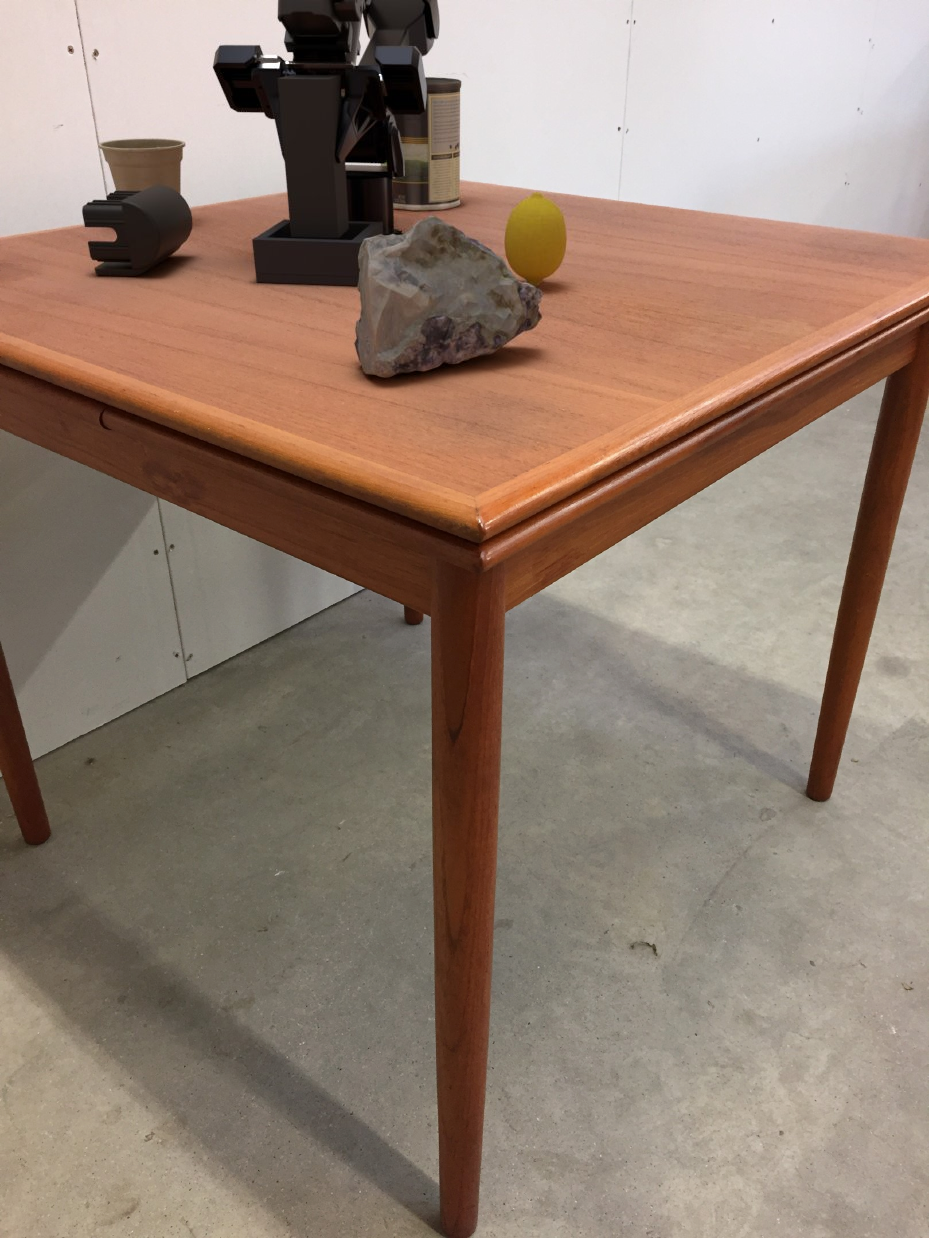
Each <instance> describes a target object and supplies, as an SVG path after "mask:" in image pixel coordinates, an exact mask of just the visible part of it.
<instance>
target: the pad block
mask: <svg viewBox="0 0 929 1238" xmlns="http://www.w3.org/2000/svg"><path fill="white" fill-rule="evenodd" d="M278 89H279V101H280V113H281V125H282V136H283V148H284V159H283V161H284V160H285V161H284V170H285V181H286V193H287V204H288V216H289V217H288V220H290V230H291V237H300V238H336V239H338V238H339V237H341V236H342V235H343V234H344V233H345V232H346V231H347V230H348V229H349V220H348V202H347V184H346V167H345V165H346V163H345V158H344V160H343V161H342V162H341V163H337V162H336V158H335V147H336V135H337V130H338V126H339V121H340V116H341V111H342V95H341V77H340V75H289V76H285V77H281V78H278Z"/></svg>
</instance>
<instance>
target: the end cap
mask: <svg viewBox="0 0 929 1238" xmlns="http://www.w3.org/2000/svg"><path fill="white" fill-rule="evenodd" d="M105 198H106V199H93V200H92V201H87V202H86V204H84V205H82V209H81V213H82V219H83V225H84V228H107V229H108V228H110V229H112V230H113V231H114V232H115V234H116V238H115V240H111V241H109V240H103V241H102V240H88V241H87V245H88V252H89V257H90V259H91V260H92V261H97V262H98V263H100V264H98V265H97V266H95V267H94V273H95V275H96V276H100V277H101V276H103V277H137V276H141V275H143V274H145V273H146V272H148V271H150V270H151V269H152V268H154V267H155V266H157V265H158V264H160V263H162V262H163V261H164V260H166V259H168V258H169V257H171V256H172V255H174V254H175V253H176V252H177V251H178V250H179V249H180V248H181V247H182V245H183V244H184V243H186V241H187V240H188V239H189V237H190V236H191V233H192V230H193V224H194V223H193V215H192V210H191V208H190V205H189V204H188V202H187V200H186V199H185V198H184V196H183V195H182V193H181V194H180V193H178V192H177V191H176V190H174V189H172V188H171V187H168V186H165V185H160V184H157V185H155V186H152V187H150V188H148V189H146V190H143V191H116V190H114V191H113V192H109V194H107V195H105Z"/></svg>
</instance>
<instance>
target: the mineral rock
mask: <svg viewBox="0 0 929 1238" xmlns="http://www.w3.org/2000/svg"><path fill="white" fill-rule="evenodd" d="M358 263H359V268H360V273H359V282H358V286H356V287H357V289H356V290H357V291H358V292H359V298H360V299H359V301H360V315H359V319H358V320H357V321H356V322H355V328H354V331H355V337H356V339H355V341H354V343H353V344H354V348H355V352H356V355H357V358H358V361H359V363H360V364H361V368H362V371H363V372H364V373H365V375H371V376H373V375H375V376H378V377H380V378H390V377H393V376H396V375H401V374H408V373H413V372H415V371H418V372H426V371H430V370H433V369H436V368H438V367H440V366H441V365H442V364H444V363H445V364H448V365H456V364H460V363H461V362H463V361H469V360H470V359H472V358H476V357H479V356H481V357H482V356H488V355H492V354H494V353H496V352H497V351H499V349H501V348H503V347H504V346H506V345H507V344H509V342H511V341H512V340H513V339H515V338H517V337H518V336H519V335H521V334H522V333H524V332H528V331H531V330H533V329H535V328H536V327H537V326H538V325H539V323H540V321H541V320H542V319H543V315H542V314H541V312H540V311H539V310H540V305H539V304H540V303H541V302H542V298H543V296H544V292H543V291H542V289H541V288H538V287H537V286H533V285H531V284H529V283H528V282H521V281H520V280H519V279H518V278H517V277H516V276H515V275H514V274H513V273H512V271H511V270H510V269H509V268H508V266H507V263H506V261H505V259H504V258H503V257H501V256H499V255H498V254H497V253H495V252H494V251H493V250H492V249H491V248H489V247H487V246H486V245H485V244H484V243H483V242H481V241H479V240H477V239H475V238H472V237H470V236H467V235H466V233H465V232H464V231H462V230H461V229H459V228H457V227H456V226H454V225H451V224H449V223H446V222H445V221H444V220H442V219H441V218H439V217H437V216H435V215H428V216H427V218H425V219H419V220H418V221H417V222H416V223H415V224H414V225H413V226H411V228H409V229H408V230H407V231H405V233H402V235H395V234H392V235H387V236H385V235H381V234H380V235H377V236H374V237H370V238H366V239H364V240H363V242H362V244H361V247H360V251H359V256H358Z"/></svg>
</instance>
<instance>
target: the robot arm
mask: <svg viewBox="0 0 929 1238" xmlns="http://www.w3.org/2000/svg"><path fill="white" fill-rule="evenodd" d="M440 18H441V17H440V10H439V3H438V0H277V21H278V22H279V23H281V24H282V26H283V28H284V29H285V31H284V32H285V33H284V39H283V44H284V47H285V50H286V52H287V53H292V60H285V59H284V58H282V57H281V56H279V55H277V54H264V52H263V50H262V47H261V45H260V44H220V45H219V46H218V47H217V49H216V51H215V53H214V58H213V65H212V69H213V71H214V74H215V76H216V79H217V81H218V83H219V86H220V88H221V90H222V92H223V94H224V97H225V99H226V101H227V104H228V106H229V108H230V110H233V111H235V112H236V113H250V114H251V113H253V114H254V113H257V114H259V113H260V114H262V113H263V114H264V116H265V117H266V118H267V119H269V120H274V122H275V123H274V125H275V129H276V133H277V138H278V142H279V147H280V152H281V156H282V158H283V161H284V162H285V160H284V148H283V136H282V125H281V113H280V101H279V89H278V78H281V77H285V76H289V75H340V77H341V95H342V111H341V116H340V121H339V126H338V130H337V135H336V147H335V158H336V162H337V163H341V162H342V161H343V160H344V158H345V167H346V184H347V202H348V220H349V221H359V222H382V223H383V235H385V236H387V235H392V234H395V235H403V230H400V229H397V228H395V213H394V210H395V209H393V179H394V178H396V177H404V176H405V162H404V153H403V148H402V143H401V138H400V132H399V130H398V129H397V126H396V123H395V119H394V116H393V115H391V113H392V114H398V115H420V114H422V113H423V112H424V111H425V107H426V98H427V86H426V80H425V77H426V74H425V68H424V62H423V57H426V56H427V55H428V54H429V52H430V51H431V50H432V48H433V46H434V44H435V40H438V39H439V36H440V26H441V25H440V24H441V23H440V20H441V19H440ZM362 19H363V20H362ZM362 21H363V23H364V26H365V32H366V35H367V37H368V39H369V41H368V43H367V45H366V47H365V50H364V52H363V54H362V56H361V49H362V45H361V41H360V35H361V27H362ZM360 56H361V57H360ZM358 57H360V60H359V62H358V64H357V59H358ZM384 163H387V166H381V164H384ZM363 164H365V165H363ZM366 164H368V165H366ZM369 164H377V165H369ZM378 164H380V165H378Z"/></svg>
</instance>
